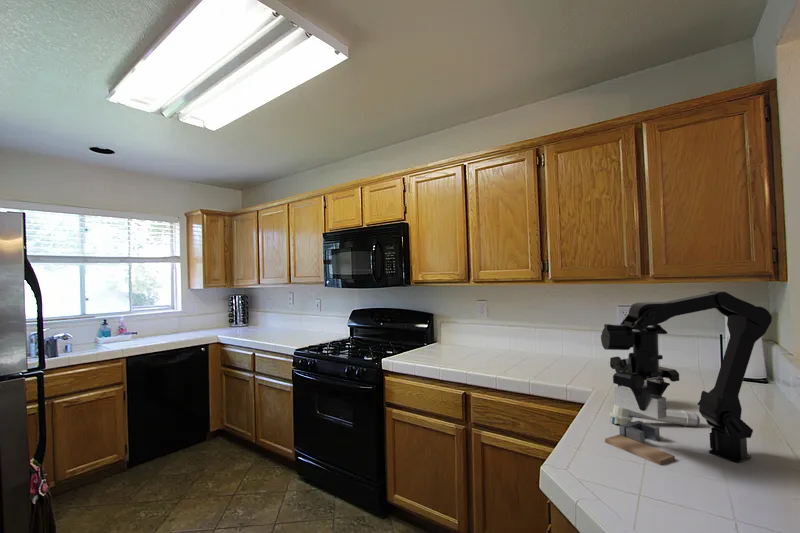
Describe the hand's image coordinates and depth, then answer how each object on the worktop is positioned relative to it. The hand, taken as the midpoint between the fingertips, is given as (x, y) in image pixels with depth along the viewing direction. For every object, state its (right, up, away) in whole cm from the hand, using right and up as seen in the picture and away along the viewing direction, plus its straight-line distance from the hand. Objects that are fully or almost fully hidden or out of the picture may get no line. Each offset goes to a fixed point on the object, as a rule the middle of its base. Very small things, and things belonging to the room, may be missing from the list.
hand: (647, 409), depth 101 cm
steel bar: (-1, -1, +2) cm, 2 cm away
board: (-2, -11, +1) cm, 12 cm away
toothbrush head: (+14, -12, +19) cm, 27 cm away
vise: (+3, -12, +8) cm, 15 cm away
